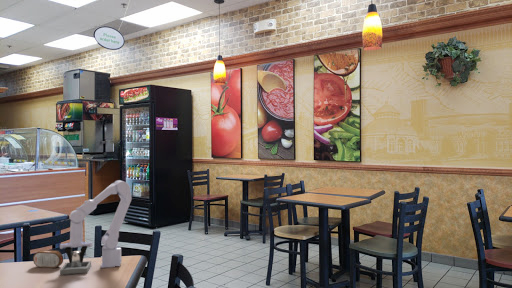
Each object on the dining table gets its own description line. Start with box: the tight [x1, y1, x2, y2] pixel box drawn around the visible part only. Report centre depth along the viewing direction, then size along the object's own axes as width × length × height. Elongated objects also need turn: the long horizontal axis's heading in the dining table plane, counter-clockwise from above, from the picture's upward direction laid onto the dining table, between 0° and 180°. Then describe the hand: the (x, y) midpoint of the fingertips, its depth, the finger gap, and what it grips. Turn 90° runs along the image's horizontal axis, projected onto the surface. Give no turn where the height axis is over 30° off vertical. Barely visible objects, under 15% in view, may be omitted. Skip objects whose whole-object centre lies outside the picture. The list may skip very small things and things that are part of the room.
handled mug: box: [71, 250, 81, 268], centre depth 190 cm, size 4×6×7 cm
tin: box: [32, 249, 64, 269], centre depth 196 cm, size 15×3×8 cm, turn 84°
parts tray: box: [59, 260, 92, 276], centre depth 191 cm, size 12×12×2 cm
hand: (76, 262), depth 191 cm, fingers closed on handled mug, 4 cm apart
